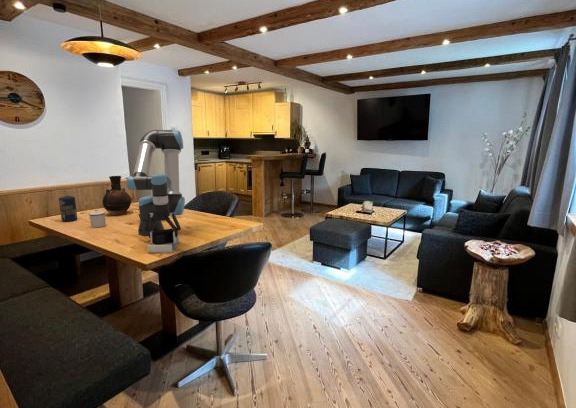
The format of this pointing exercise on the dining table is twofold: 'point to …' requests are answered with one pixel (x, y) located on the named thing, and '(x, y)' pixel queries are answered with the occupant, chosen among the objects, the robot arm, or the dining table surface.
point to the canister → (68, 208)
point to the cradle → (163, 247)
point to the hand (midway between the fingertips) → (163, 242)
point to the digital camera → (163, 237)
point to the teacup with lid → (97, 218)
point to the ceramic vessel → (116, 198)
